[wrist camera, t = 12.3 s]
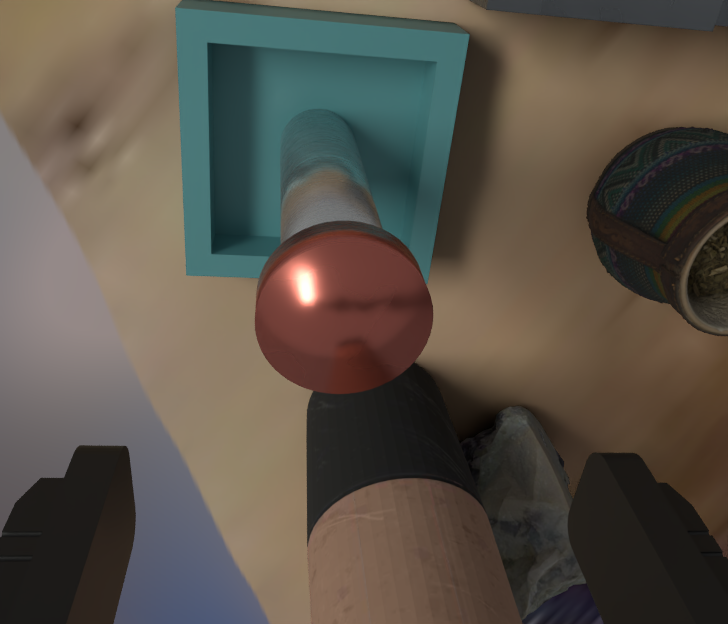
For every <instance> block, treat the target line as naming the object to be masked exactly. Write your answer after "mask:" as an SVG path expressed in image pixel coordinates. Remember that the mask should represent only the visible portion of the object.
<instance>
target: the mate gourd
mask: <svg viewBox="0 0 728 624" xmlns="http://www.w3.org/2000/svg"><path fill="white" fill-rule="evenodd" d="M586 218H587V219H588V222H589V228H590V229H591V235H592V239H593V241H592V242H594V245H595V248H596V251H597V255H598V256H599V259H600V260H601V263H602V264H603V266H605V268H606V269H607V270H606V271H607V273H610V274H611V275H610V276H613V277H614V278H615V279H616V280H617V281H618V282H619V283H621V285H623V286H624V287H626V288H628V289H629V290H631V291H633V292H634V293H636V294H639V295H640V296H643V297H645V298H647V299H650V300H654V301H658V302H660V303H662V302H663V303H668V304H671V306H672V307H673V308H674V309H675V310H676V311H677V312H678V313H679V314H680V315H682V316H683V319H685V320H686V321H687V323H689V324H691V326H693V327H694V328H696V329H697V330H700V331H702V332H704V333H708V334H712V335H717V336H728V134H727V133H723V132H720V131H716V130H713V129H709V128H695V127H690V128H684V127H679V128H678V127H676V128H665V129H661V130H657V131H655V132H652V133H649V134H647V135H645V136H643V137H641V138H639V139H637V140H635V141H634V142H632V143H631V144H629V145H628V146H626V147H625V148H624V149H623V150H621V151H620V152H619V153H617V154H616V156H615V157H614V158H613V159H612V160H611V162H610V163H609V164H608V165H607V166H606V168H605V169H604V171H603V173H602V175H601V176H600V177H599V180H598V182H597V183H596V185H595V187H594V189H593V190H592V192H591V194H590V196H589V200H588V208H587V217H586Z"/></svg>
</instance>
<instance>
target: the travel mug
mask: <svg viewBox="0 0 728 624" xmlns="http://www.w3.org/2000/svg"><path fill="white" fill-rule="evenodd" d="M307 547H308V571H309V588H310V606H311V624H522V621H521V618H520V615H519V612H518V609H517V606H516V603H515V600H514V597H513V593H512V590H511V587H510V584H509V581H508V578H507V575H506V572H505V569H504V566H503V563H502V560H501V556H500V553H499V550H498V547H497V544H496V541H495V538H494V535H493V532H492V529H491V526H490V522H489V520H488V517H487V514H486V511H485V508H484V506H483V503H482V500H481V498H480V495H479V492H478V490H477V487H476V485H475V482H474V479H473V477H472V474H471V471H470V469H469V466H468V463H467V461H466V458H465V456H464V453H463V450H462V448H461V445H460V442H459V440H458V437H457V434H456V432H455V429H454V427H453V424H452V421H451V419H450V416H449V413H448V411H447V408H446V406H445V403H444V401H443V398H442V396H441V393H440V391H439V389H438V387H437V385H436V383H435V381H434V380H433V379H432V378H431V376H430V375H429V374H428V373H427V372H426V371H425V370H424V369H422V368H421V367H419V366H418V365H416V364H414V363H413V364H412V365H411V366H410V367H409V368H408V369H406V370H405V371H404V372H403V373H401V374H400V375H399V376H397V377H396V378H394V379H392V380H391V381H389V382H387V383H385V384H383V385H381V386H378V387H375V388H373V389H370V390H366V391H362V392H356V393H349V394H330V393H323V392H317V391H313V393H312V395H311V398H310V401H309V404H308V409H307Z"/></svg>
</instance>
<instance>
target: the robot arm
mask: <svg viewBox="0 0 728 624" xmlns="http://www.w3.org/2000/svg"><path fill="white" fill-rule="evenodd" d="M135 514H136V513H135V502H134V493H133V485H132V475H131V467H130V457H129V451H128V448H127V447H126V446H85V445H81V446H79V447H77V449H76V450H75V452H74V454H73V457H72V459H71V462H70V464H69V467H68V469H67V472H66V474H65V477H64V478H40V479H39V480H38V481H37V482H36V483H35V484H34V485H33V486H32V487H31V488H30V489H29V490H28V491H27V492H26V493H25V494H24V495H23V496H22V497H21V498H20V499H19V500H18V501H17V502H16V503H15V505H14V507H13V509H12V511H11V514H10V516H9V518H8V520H7V522H6V524H5V526H4V529H3V531H2V537H0V624H113V623H114V619H115V615H116V611H117V606H118V603H119V599H120V595H121V591H122V587H123V583H124V579H125V575H126V571H127V567H128V563H129V559H130V555H131V551H132V547H133V541H134V534H135V521H136V520H135V518H136V515H135ZM568 536H569V541H570V545H571V547H572V550H573V552H574V555H575V557H576V559H577V562H578V564H579V566H580V569H581V571H582V573H583V576H584V578H585V580H586V583H587V585H588V587H589V590H590V592H591V594H592V597H593V599H594V601H595V604H596V606H597V608H598V611H599V613H600V615H601V618H602V620H603V622H604V624H728V559H727V557H723V555H722V552H723V551H722V550H721V548H720V547H719V545H718V544H717V542H716V541H715V539H714V538H713V536H710V535H709V530H708V529H707V527H706V526H705V524H704V522H703V521H702V519H701V518H700V516H699V515H698V513H697V512H696V510H695V509H694V507H693V506H692V505H691V504H690V503H689V502H688V501H687V500H686V499H685V498H683V497H682V496H681V495H680V494H679V493H678V492H676V491H675V490H674V489H673V488H672V487H671V486H670V485H668V484H667V483H657V482H656V480H655V479H654V477H653V475H652V474H651V472H650V471H649V469H648V467H647V466H646V464H645V462H644V461H643V460H642V458H641V457H640V456H639V455H637V454H635V453H593V454H591V455H590V456H589V458H588V460H587V462H586V465H585V468H584V470H583V473H582V476H581V479H580V482H579V485H578V487H577V490H576V493H575V496H574V499H573V501H572V504H571V507H570V510H569V514H568Z"/></svg>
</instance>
